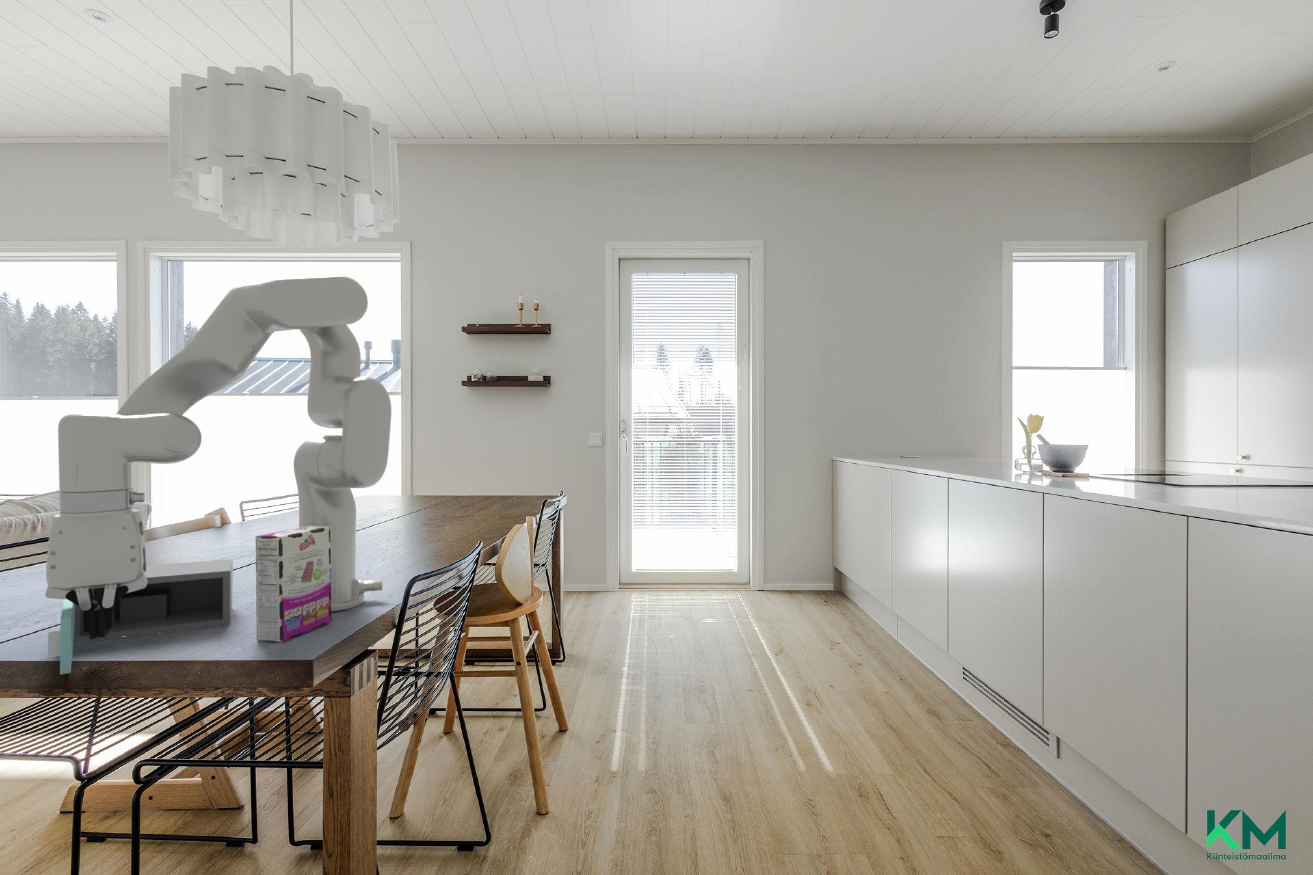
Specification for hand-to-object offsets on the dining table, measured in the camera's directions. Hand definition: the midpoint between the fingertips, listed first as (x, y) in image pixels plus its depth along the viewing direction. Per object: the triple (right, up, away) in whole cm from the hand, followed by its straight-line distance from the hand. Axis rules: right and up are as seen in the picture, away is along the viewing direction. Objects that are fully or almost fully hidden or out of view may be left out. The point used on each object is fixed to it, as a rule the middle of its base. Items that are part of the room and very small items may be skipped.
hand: (99, 635), depth 89 cm
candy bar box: (+19, -4, +15) cm, 24 cm away
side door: (-5, -3, 0) cm, 6 cm away
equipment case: (-6, -4, +18) cm, 19 cm away
